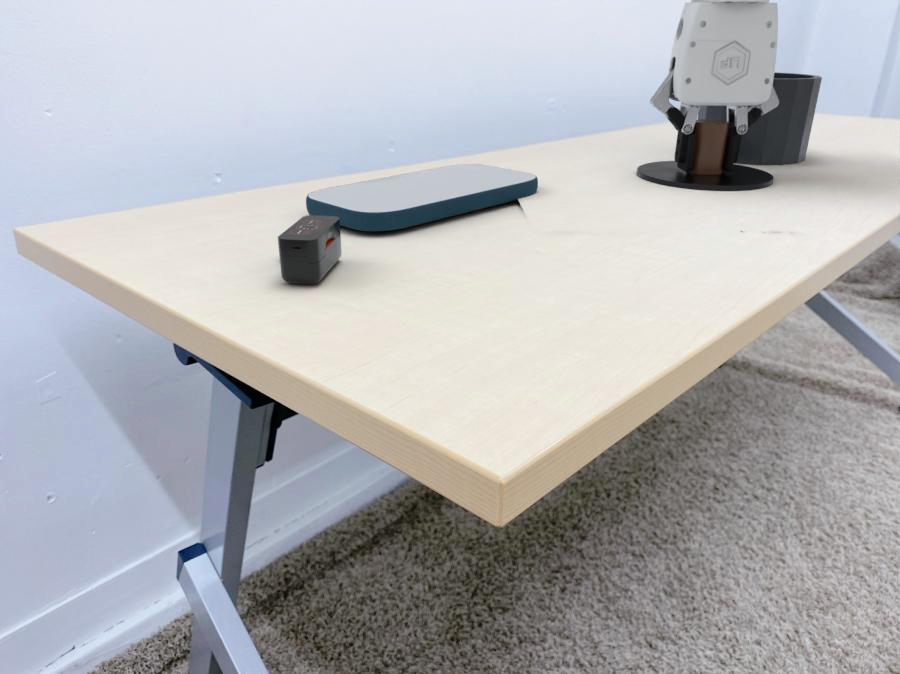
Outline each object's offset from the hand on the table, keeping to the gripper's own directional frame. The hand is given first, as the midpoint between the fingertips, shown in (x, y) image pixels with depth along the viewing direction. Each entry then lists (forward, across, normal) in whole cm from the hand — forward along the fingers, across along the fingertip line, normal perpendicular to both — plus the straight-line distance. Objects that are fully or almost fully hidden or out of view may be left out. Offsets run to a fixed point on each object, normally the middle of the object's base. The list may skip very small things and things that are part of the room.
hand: (704, 167), depth 79 cm
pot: (+2, +11, +14) cm, 18 cm away
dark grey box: (+2, -40, -30) cm, 50 cm away
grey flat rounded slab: (+2, -31, -11) cm, 33 cm away
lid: (+1, 0, 0) cm, 1 cm away
